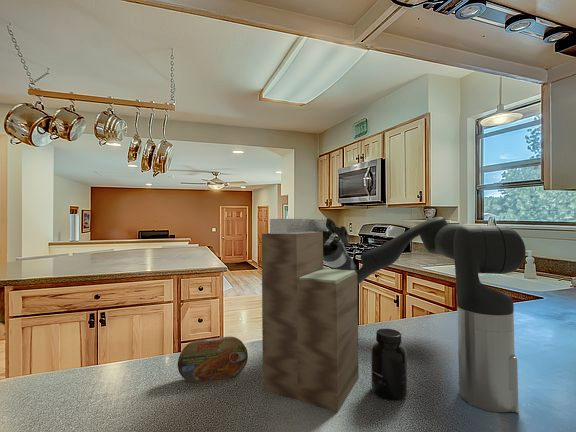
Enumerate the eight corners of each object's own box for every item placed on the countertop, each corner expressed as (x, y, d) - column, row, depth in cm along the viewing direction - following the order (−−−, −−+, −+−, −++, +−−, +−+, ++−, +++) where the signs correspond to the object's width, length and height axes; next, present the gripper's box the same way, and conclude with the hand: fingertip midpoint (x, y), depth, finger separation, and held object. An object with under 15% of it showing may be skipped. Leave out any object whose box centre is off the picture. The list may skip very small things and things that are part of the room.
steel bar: (327, 231, 81) (326, 219, 81) (287, 233, 61) (287, 218, 62) (312, 230, 83) (312, 219, 83) (269, 233, 63) (269, 218, 63)
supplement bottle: (368, 396, 61) (367, 334, 61) (375, 380, 67) (374, 324, 67) (405, 405, 58) (403, 340, 58) (409, 388, 64) (408, 329, 64)
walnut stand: (358, 377, 68) (356, 232, 69) (337, 412, 56) (335, 234, 57) (293, 363, 76) (292, 231, 77) (262, 390, 63) (261, 233, 64)
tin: (177, 385, 66) (177, 345, 66) (178, 378, 69) (178, 340, 69) (248, 375, 70) (247, 337, 70) (246, 369, 73) (246, 333, 73)
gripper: (353, 263, 84) (336, 235, 72) (306, 261, 91) (282, 234, 79) (357, 238, 88) (341, 208, 75) (310, 238, 94) (289, 209, 82)
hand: (311, 221), depth 77 cm, fingers open, 8 cm apart
